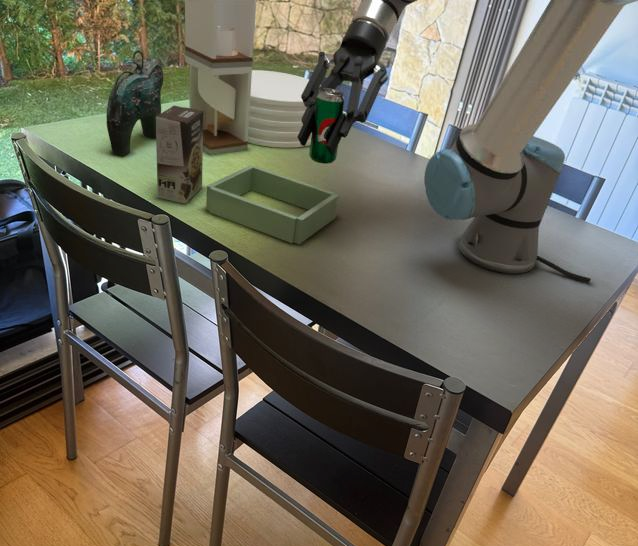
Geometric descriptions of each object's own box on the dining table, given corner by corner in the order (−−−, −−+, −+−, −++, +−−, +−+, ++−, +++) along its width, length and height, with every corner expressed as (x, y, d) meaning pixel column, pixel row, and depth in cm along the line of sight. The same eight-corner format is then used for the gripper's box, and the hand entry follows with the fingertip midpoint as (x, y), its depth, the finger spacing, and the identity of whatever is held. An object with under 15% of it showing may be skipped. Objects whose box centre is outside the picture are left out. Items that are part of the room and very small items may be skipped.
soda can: (341, 161, 112) (351, 94, 104) (323, 166, 108) (332, 97, 101) (321, 153, 114) (330, 86, 107) (303, 157, 111) (310, 89, 104)
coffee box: (187, 204, 120) (187, 122, 110) (156, 198, 120) (153, 115, 110) (203, 188, 127) (204, 110, 117) (174, 182, 127) (173, 103, 118)
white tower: (185, 138, 149) (185, -26, 127) (221, 134, 155) (227, -24, 134) (210, 155, 142) (214, -16, 121) (247, 149, 148) (257, -14, 127)
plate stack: (320, 153, 153) (327, 107, 146) (210, 138, 151) (211, 91, 144) (322, 120, 175) (328, 79, 168) (226, 107, 173) (228, 64, 166)
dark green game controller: (147, 129, 150) (144, 42, 138) (171, 135, 149) (170, 48, 137) (103, 153, 134) (95, 57, 122) (129, 160, 133) (124, 63, 121)
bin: (336, 217, 124) (340, 194, 121) (297, 245, 112) (300, 221, 109) (249, 186, 131) (251, 164, 128) (204, 210, 119) (204, 186, 116)
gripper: (416, 59, 110) (364, 170, 107) (328, 38, 115) (277, 143, 113) (412, 29, 102) (357, 148, 100) (319, 9, 108) (265, 120, 105)
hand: (315, 145), depth 106 cm, fingers closed on soda can, 5 cm apart
